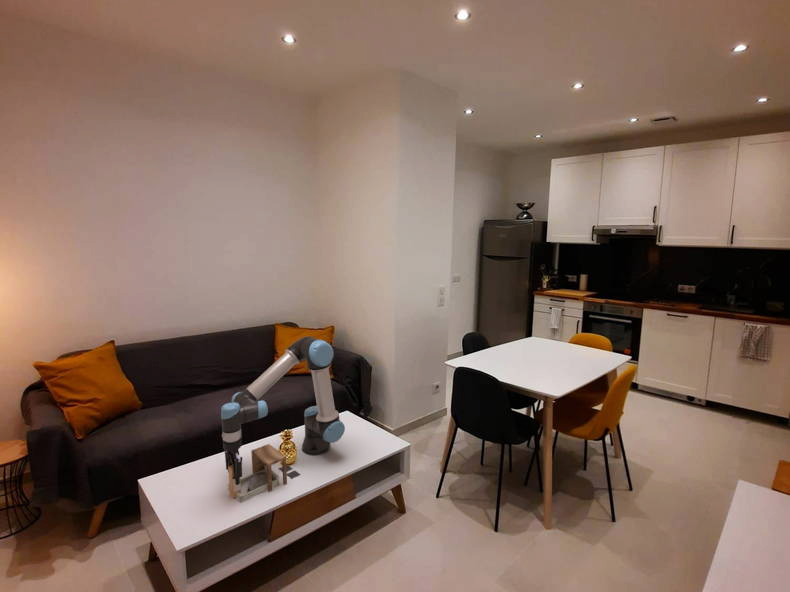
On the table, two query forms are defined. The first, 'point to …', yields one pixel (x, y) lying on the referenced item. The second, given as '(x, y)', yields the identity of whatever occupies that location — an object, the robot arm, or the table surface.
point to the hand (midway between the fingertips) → (235, 488)
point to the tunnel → (268, 462)
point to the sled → (254, 492)
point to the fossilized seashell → (257, 481)
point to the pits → (291, 474)
